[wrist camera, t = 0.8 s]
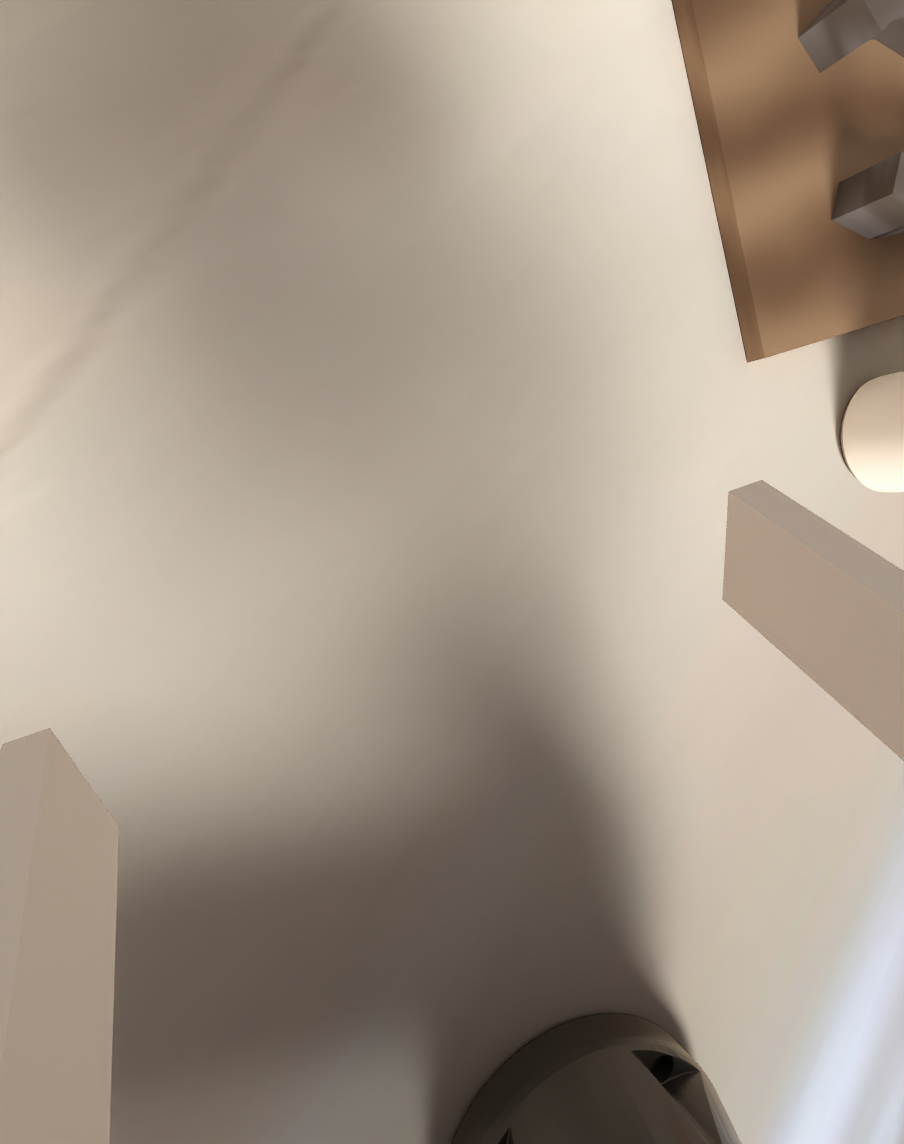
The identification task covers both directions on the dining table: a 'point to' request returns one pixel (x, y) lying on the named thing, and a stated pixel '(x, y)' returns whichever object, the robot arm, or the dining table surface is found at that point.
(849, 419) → the can
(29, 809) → the robot arm
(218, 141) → the dining table surface
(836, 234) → the wooden board with blocks
